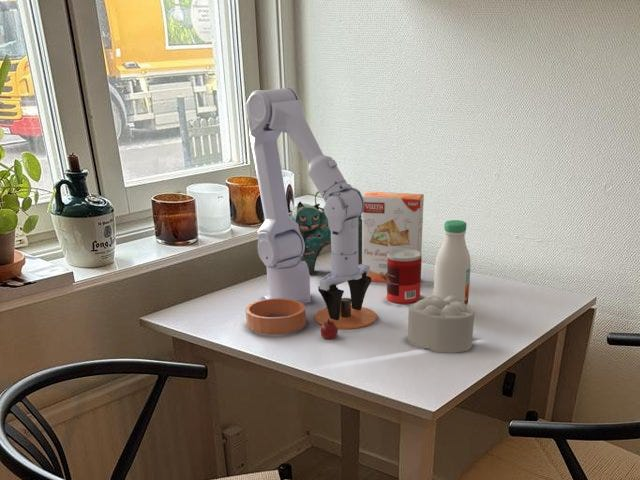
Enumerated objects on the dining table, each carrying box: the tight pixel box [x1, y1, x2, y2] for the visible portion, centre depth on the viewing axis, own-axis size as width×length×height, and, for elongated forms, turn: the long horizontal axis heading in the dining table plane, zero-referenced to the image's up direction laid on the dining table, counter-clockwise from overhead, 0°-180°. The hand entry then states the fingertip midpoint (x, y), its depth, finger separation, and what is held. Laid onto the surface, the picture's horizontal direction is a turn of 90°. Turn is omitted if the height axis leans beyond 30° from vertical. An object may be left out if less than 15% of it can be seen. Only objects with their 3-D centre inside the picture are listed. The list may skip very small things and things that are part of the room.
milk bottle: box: [433, 219, 472, 306], centre depth 158 cm, size 8×8×20 cm
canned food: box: [386, 249, 423, 305], centre depth 168 cm, size 8×8×11 cm
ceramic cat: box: [291, 190, 362, 275], centre depth 187 cm, size 20×6×20 cm, turn 115°
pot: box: [245, 298, 307, 335], centre depth 157 cm, size 13×13×4 cm
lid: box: [314, 297, 378, 330], centre depth 160 cm, size 14×14×5 cm
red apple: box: [320, 319, 339, 340], centre depth 150 cm, size 4×4×4 cm
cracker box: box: [361, 190, 425, 284], centre depth 178 cm, size 14×6×21 cm, turn 77°
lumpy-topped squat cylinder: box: [407, 294, 475, 354], centre depth 148 cm, size 10×13×9 cm
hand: (345, 314), depth 160 cm, fingers open, 7 cm apart
